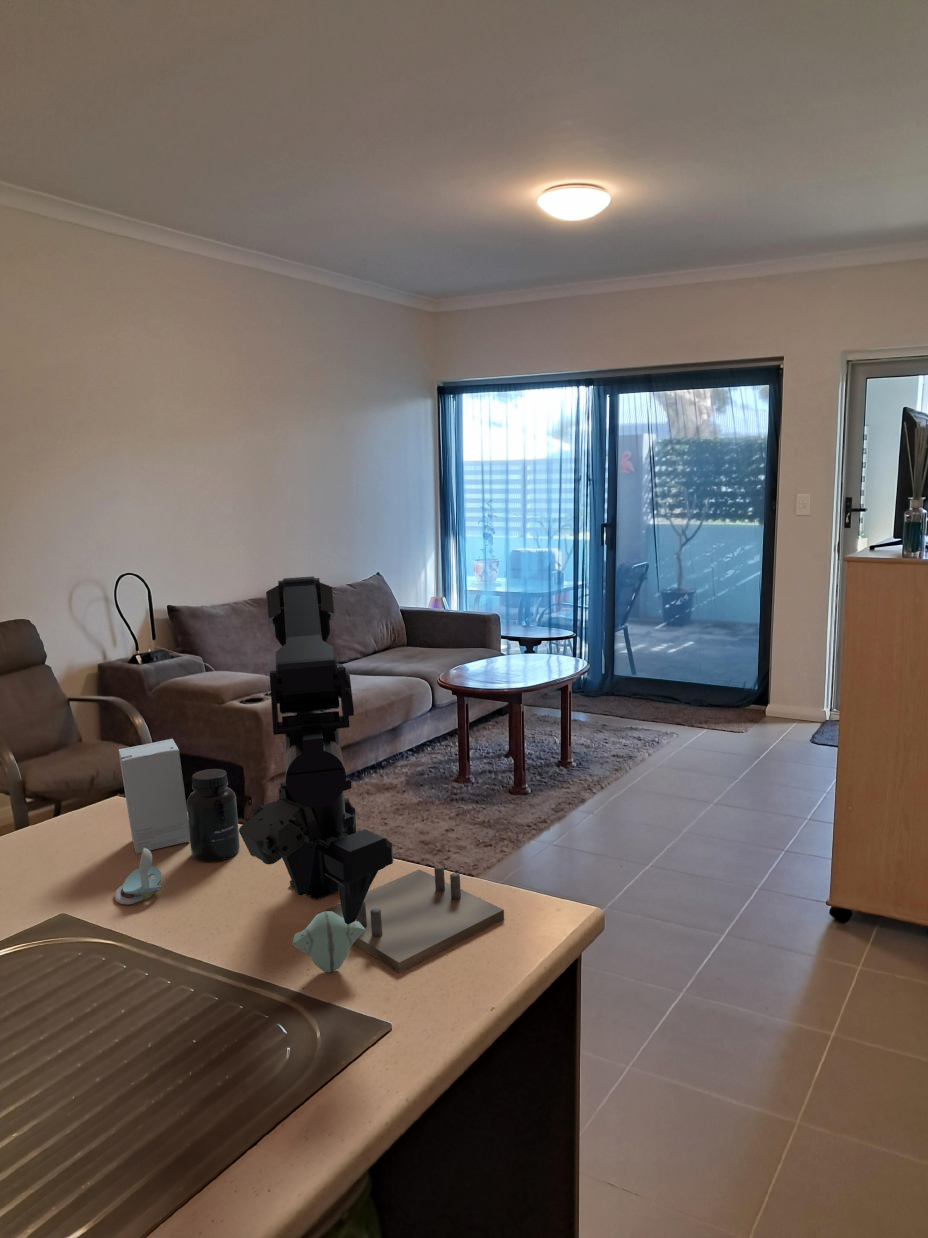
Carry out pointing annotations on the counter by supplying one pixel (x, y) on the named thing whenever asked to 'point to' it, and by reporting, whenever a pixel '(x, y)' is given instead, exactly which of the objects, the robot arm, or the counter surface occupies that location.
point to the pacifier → (140, 881)
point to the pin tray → (419, 917)
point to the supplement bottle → (212, 817)
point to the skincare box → (155, 795)
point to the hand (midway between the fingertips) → (325, 908)
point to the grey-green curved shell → (328, 940)
